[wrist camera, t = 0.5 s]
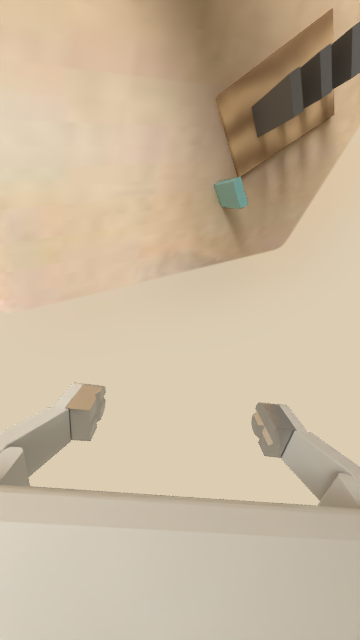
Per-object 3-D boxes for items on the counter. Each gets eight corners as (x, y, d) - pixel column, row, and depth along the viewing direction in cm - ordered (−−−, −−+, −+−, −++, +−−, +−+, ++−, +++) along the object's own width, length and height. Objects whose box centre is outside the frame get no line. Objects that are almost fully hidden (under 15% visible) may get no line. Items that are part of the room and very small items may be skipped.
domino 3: (272, 91, 35) (319, 50, 26) (280, 86, 35) (331, 42, 25) (277, 124, 38) (321, 98, 28) (284, 119, 38) (332, 91, 28)
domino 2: (251, 107, 36) (289, 73, 26) (258, 101, 36) (299, 65, 26) (257, 137, 39) (294, 117, 29) (264, 133, 39) (303, 111, 29)
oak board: (215, 98, 36) (217, 96, 35) (327, 12, 32) (332, 7, 31) (237, 177, 43) (239, 177, 42) (330, 116, 39) (334, 114, 39)
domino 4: (294, 75, 35) (352, 26, 25) (302, 69, 34) (364, 18, 25) (298, 109, 37) (351, 78, 28) (305, 104, 37) (362, 70, 27)
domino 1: (213, 185, 43) (232, 181, 34) (219, 181, 43) (240, 176, 33) (221, 206, 46) (240, 209, 36) (226, 203, 46) (248, 204, 36)
